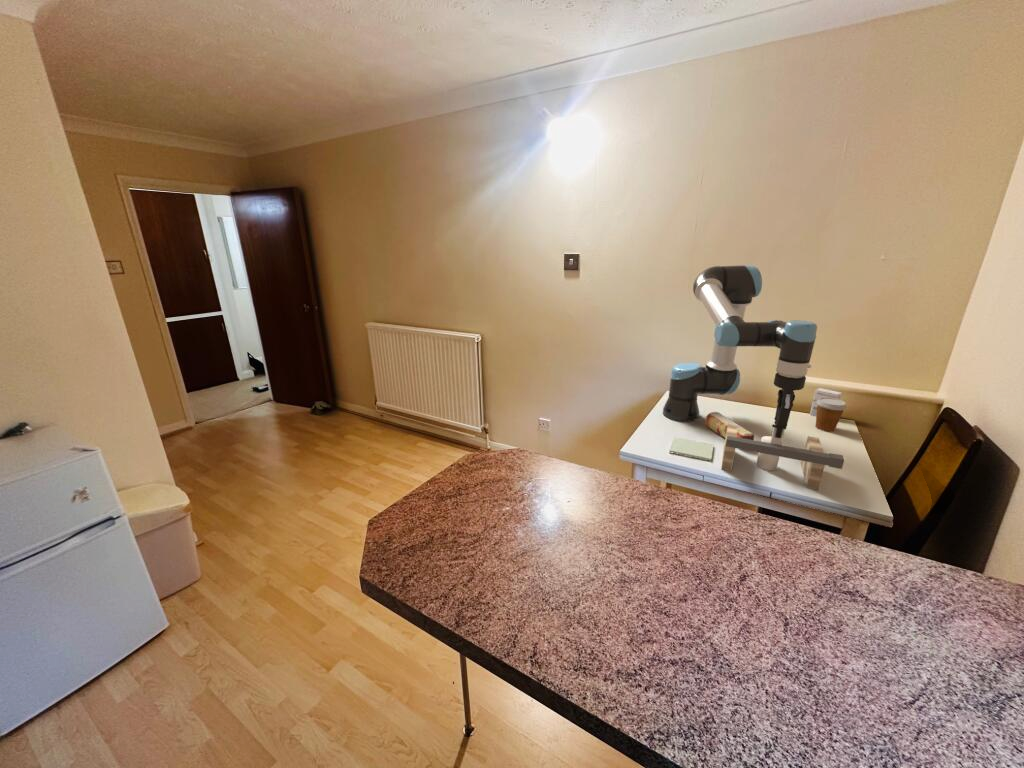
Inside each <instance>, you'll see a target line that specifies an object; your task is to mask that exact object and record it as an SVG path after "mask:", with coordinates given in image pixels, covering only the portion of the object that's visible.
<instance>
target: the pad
mask: <svg viewBox="0 0 1024 768" xmlns="http://www.w3.org/2000/svg"><path fill="white" fill-rule="evenodd" d="M714 446H715V444H713V443H707V442H704V441H703V442H702V441H696V440H693V439H692V440H691V439H686V438H681V437H676V436H674V437H673V440H672V443H671V445H670V448H669V452H673V453H678V454H682V455H681V456H683V455H686V456H685V457H688V456H691V457H690V458H692V457H695V458H694V459H697V458H699V459H698V460H702V459H704V460H703V461H707V460H709V461H708V462H711V461H712V457H713V451H714ZM673 453H672V454H673ZM678 454H677V455H678Z"/></svg>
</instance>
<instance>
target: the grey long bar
mask: <svg viewBox="0 0 1024 768" xmlns="http://www.w3.org/2000/svg"><path fill="white" fill-rule="evenodd" d="M726 446H727V447H733V448H735V449H738V450H742V451H743V450H745V451H749V452H755V453H764V454H769V455H775V456H779V458H780V457H781V458H785V459H791V460H796V461H797V460H798V461H801V462H802V461H806V462H812V463H817V464H822V465H825V466H828V468H829V467H830V468H834V469H840V470H843V465H844V462H845V458H844V456H843V454H838V453H832V452H830V453H828V452H824V453H823V452H817V451H811V450H806V449H805V448H800V447H794V446H788V445H783V444H782V445H778V444H772V443H767V442H761V440H760V441H759V440H755V439H754V440H750V439H744V438H739V437H733V436H727V440H726Z"/></svg>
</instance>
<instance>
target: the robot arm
mask: <svg viewBox="0 0 1024 768" xmlns="http://www.w3.org/2000/svg"><path fill="white" fill-rule="evenodd" d="M761 273H762V272H761V271H760V269H759V268H758V267H756V266H753V265H743V264H742V265H724V266H723V265H722V266H720V265H714V266H712V267H711V266H710V267H708V268H706V269H704V270H703V271H702V272H700V273H699V274H698V275H697V277H696V278H695V279H694V282H693V285H692V291H693V294H694V296H695V298H696V300H697V301H699V302H701V303H702V304H703V306H704V308H705V309H706V311H707V312H708V314H709V316H710V318H711V319H712V321H713V322H714V324H715V326H716V327H715V328H714V334H713V336H714V341H713V348H712V353H711V359H709V360H707V361H706V363H705V367H703V366H702V365H701V364H699V363H696V362H682V363H678V364H675V365H674V366H673V367H672V369H671V372H670V382H669V390H668V397H667V400H666V402H665V403H664V405H663V408H662V414H663V416H664V417H666V418H667V419H670V420H672V421H678V422H694V421H696V420H699V419H700V409H699V405H698V404H699V403H698V395H720V396H722V395H731V394H733V393H734V392H736V391H737V389H738V388H739V385H740V383H741V372H740V370H739V369H738V366H737V364H736V363H735V359H736V358H735V357H736V354H737V349H738V347H768V348H769V347H773V348H774V347H776V348H778V349H779V355H778V358H777V363H776V368H775V371H776V373H775V374H774V375H775V376H774V379H773V385H774V386H775V387H776V388H779V390H778V391H777V392H778V393H777V396H778V397H777V403H776V409H775V417H774V418H773V420H774V421H773V422H774V424H771V426H772V428H773V429H772V435H771V437H772V438H771V443H772V444H778V445H781V444H782V445H783V443H782V442H783V438H784V434H785V430H787V426H788V423H789V419H790V414H791V411H792V408H793V406H794V403H793V402H794V401H795V399H796V394H795V391H801V390H803V389H804V387H805V383H806V379H807V377H806V376H807V374H808V371H809V369H811V367H812V365H811V364H810V362H811V358H812V353H813V349H814V346H815V342H816V339H817V332H818V331H817V330H818V326H817V324H816V323H815V322H813V321H807V320H800V319H799V320H789V321H787V322H786V321H783V320H778V319H771V320H768V321H766V322H765V321H758V322H756V321H755V322H754V321H752V322H751V321H748V322H747V321H745V320H744V318H745V312H746V307H748V306H749V305H751V304H752V301H753V298H756V297H758V296H759V295H760V293H761V292H762V289H763V288H762V287H763V277H762V274H761Z"/></svg>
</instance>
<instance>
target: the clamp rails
mask: <svg viewBox="0 0 1024 768" xmlns="http://www.w3.org/2000/svg"><path fill="white" fill-rule="evenodd" d="M727 436H733V437H737V423H736V424H732V423H728V426H727V432H726V438H724V445H723V452H722V462H721V470H723V469H724V471H729V472H732V470H733V464H734V458H735V453H736V448H733V447H727V446H726V440H727ZM804 449H806V450H811V451H817V452H823V453H825V451H824V449H823V447H822V443H821V440H820V438H819V437H818V436H817V437H815V436H810V435H807V437H806V441H805V447H804ZM800 465H801V468H802V469H801V470H802V474H803V478H804V479H803V480H804V482H805V486H806V487H805V488H809V489H813V490H817V491H818V490H819V488H820V485H821V481H822V477H823V474H824V470H825V466H826V465H822V464H817V463H812V462H806V461H801V462H800Z"/></svg>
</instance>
